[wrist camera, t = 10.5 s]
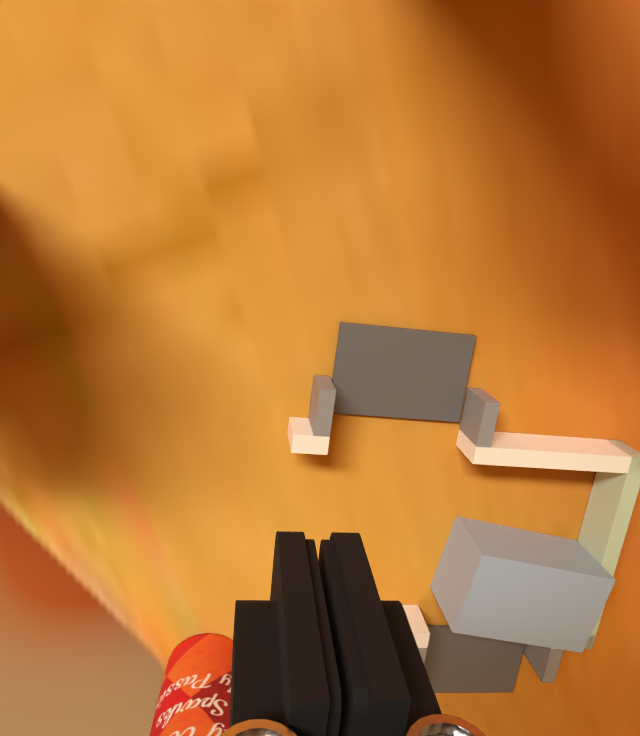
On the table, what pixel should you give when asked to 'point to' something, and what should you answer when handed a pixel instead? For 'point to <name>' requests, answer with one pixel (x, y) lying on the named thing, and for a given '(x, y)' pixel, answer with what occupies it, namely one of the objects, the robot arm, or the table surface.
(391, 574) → the table surface
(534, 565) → the block
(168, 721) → the paper cup
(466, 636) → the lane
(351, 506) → the table surface
